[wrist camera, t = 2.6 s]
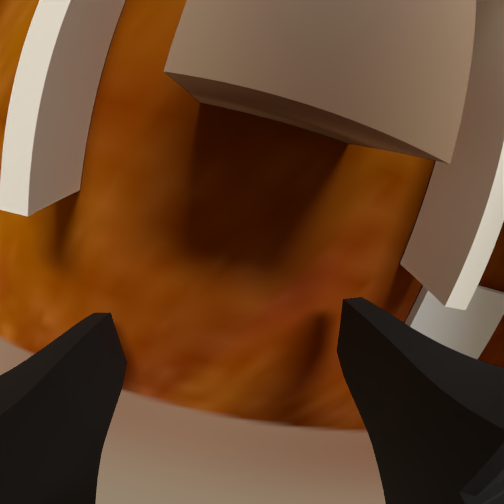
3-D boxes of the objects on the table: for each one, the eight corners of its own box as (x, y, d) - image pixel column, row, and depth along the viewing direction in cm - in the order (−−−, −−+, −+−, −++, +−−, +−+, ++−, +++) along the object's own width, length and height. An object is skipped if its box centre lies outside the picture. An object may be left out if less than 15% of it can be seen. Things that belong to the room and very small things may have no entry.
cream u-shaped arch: (482, 4, 7) (530, -10, 4) (419, 269, 10) (465, 310, 8) (153, -103, 5) (136, -147, 2) (55, 185, 9) (-1, 209, 6)
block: (379, 20, 7) (476, -33, 3) (348, 144, 9) (450, 164, 4) (241, -25, 7) (250, -127, 2) (200, 102, 8) (163, 71, 4)
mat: (507, 293, 11) (512, 297, 11) (451, 387, 13) (454, 392, 13) (429, 271, 11) (434, 275, 10) (366, 388, 13) (369, 394, 12)
